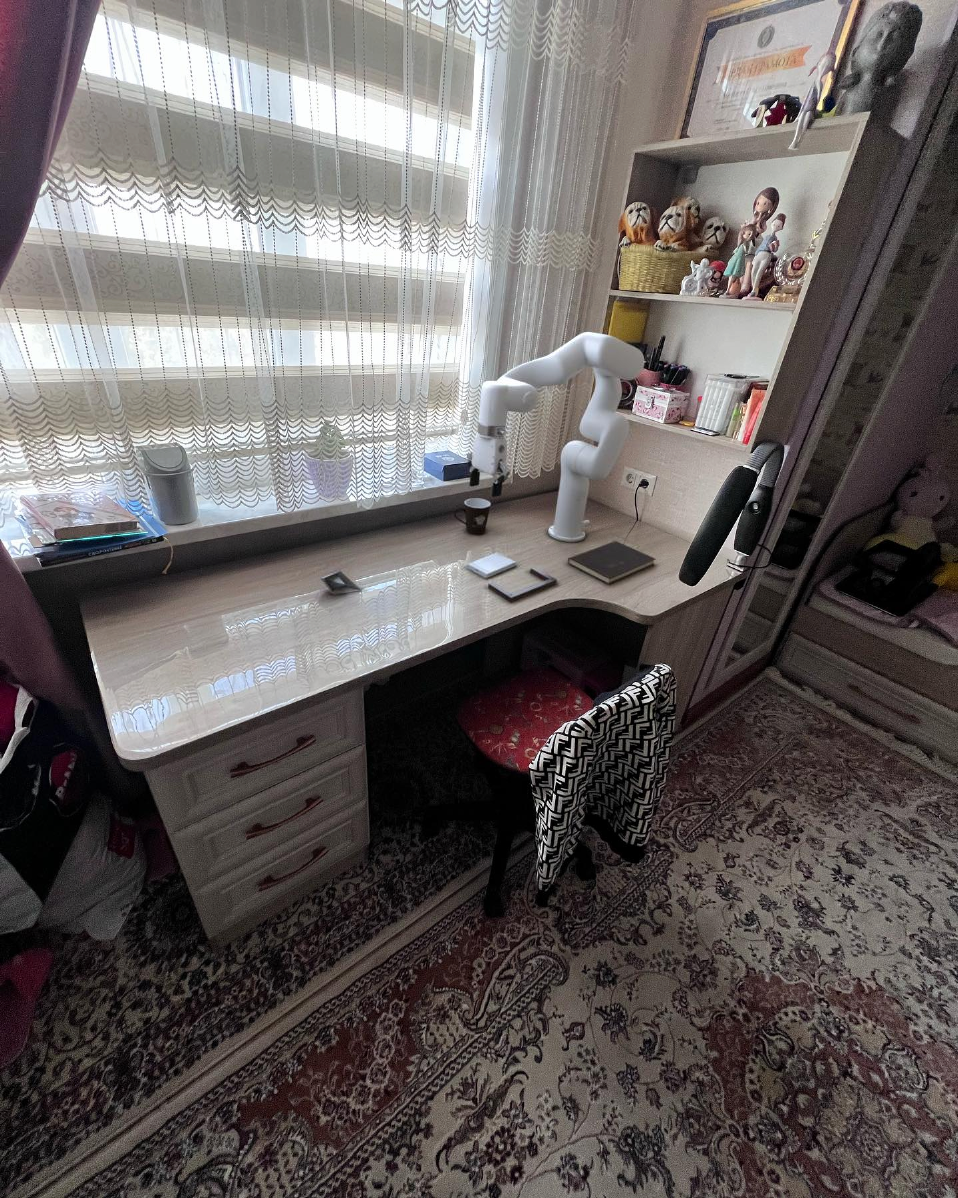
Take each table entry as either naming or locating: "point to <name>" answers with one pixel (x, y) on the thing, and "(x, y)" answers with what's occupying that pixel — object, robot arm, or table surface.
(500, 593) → the dark brown open frame
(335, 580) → the paper boat
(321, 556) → the table surface
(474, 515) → the coffee mug
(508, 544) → the table surface
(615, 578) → the hardcover book
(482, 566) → the hard drive
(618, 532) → the table surface
